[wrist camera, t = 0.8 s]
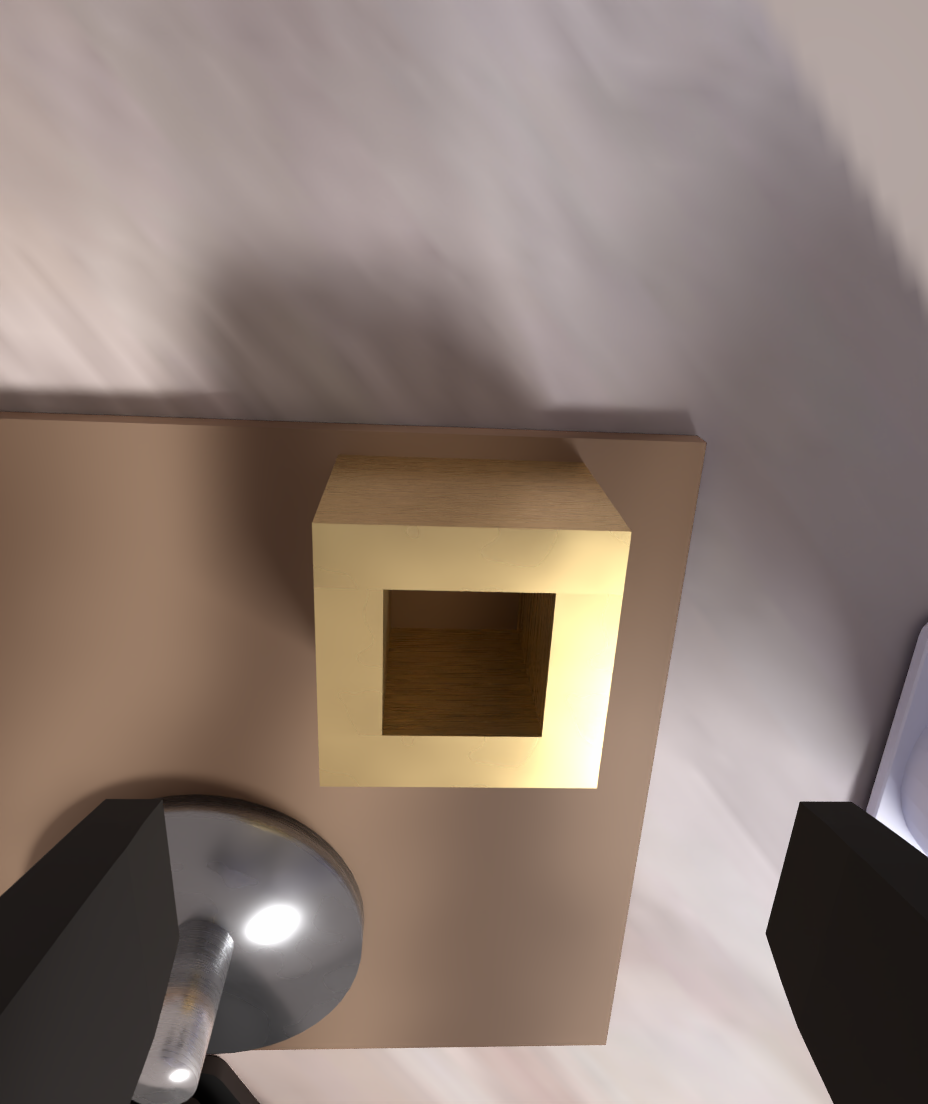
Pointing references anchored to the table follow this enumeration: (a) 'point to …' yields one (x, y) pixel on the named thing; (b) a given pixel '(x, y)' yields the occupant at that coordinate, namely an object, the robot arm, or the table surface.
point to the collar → (465, 654)
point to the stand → (248, 937)
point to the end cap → (219, 1085)
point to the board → (291, 700)
